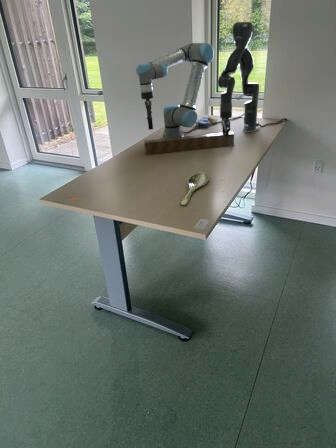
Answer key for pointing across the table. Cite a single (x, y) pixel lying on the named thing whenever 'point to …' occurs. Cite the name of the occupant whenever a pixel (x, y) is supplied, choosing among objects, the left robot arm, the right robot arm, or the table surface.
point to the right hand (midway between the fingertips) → (225, 135)
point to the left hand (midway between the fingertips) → (150, 126)
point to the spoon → (195, 184)
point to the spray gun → (206, 121)
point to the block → (188, 143)
